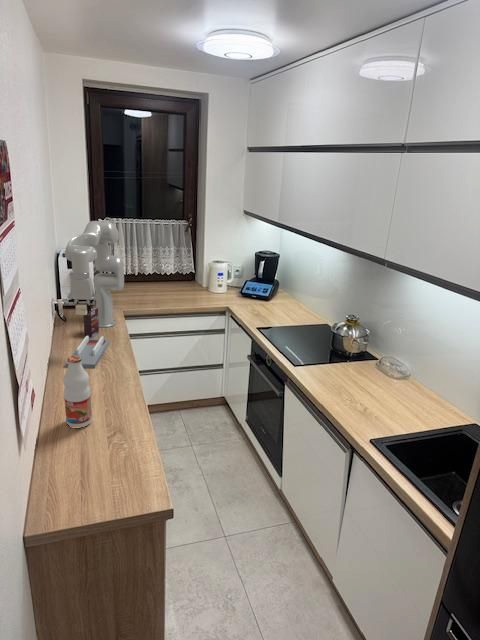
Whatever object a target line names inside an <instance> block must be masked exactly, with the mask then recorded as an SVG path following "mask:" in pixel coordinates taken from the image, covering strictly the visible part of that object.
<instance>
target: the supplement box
mask: <svg viewBox="0 0 480 640" xmlns="http://www.w3.org/2000/svg"><path fill="white" fill-rule="evenodd" d="M82 316H83V317H82V318H83V331H84V332H83V333H84V334H83V335H84V338H85V337H86V336H89V339H94V338H95V337H96V336H98V335H99V334H100V327H99V320H98V308H96V306H94V307H93V306H91V311H90V312H89V313H87V314H86V315H82Z"/></svg>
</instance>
